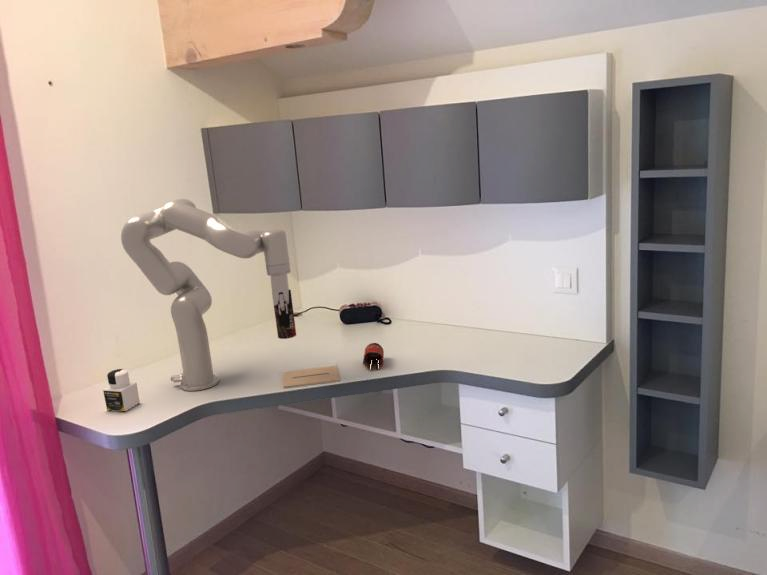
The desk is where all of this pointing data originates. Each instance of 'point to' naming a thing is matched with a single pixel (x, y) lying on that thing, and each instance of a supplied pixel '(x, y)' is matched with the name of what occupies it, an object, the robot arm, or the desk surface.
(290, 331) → the deodorant
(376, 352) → the beverage can
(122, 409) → the medicine bottle
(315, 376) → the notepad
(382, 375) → the desk surface
